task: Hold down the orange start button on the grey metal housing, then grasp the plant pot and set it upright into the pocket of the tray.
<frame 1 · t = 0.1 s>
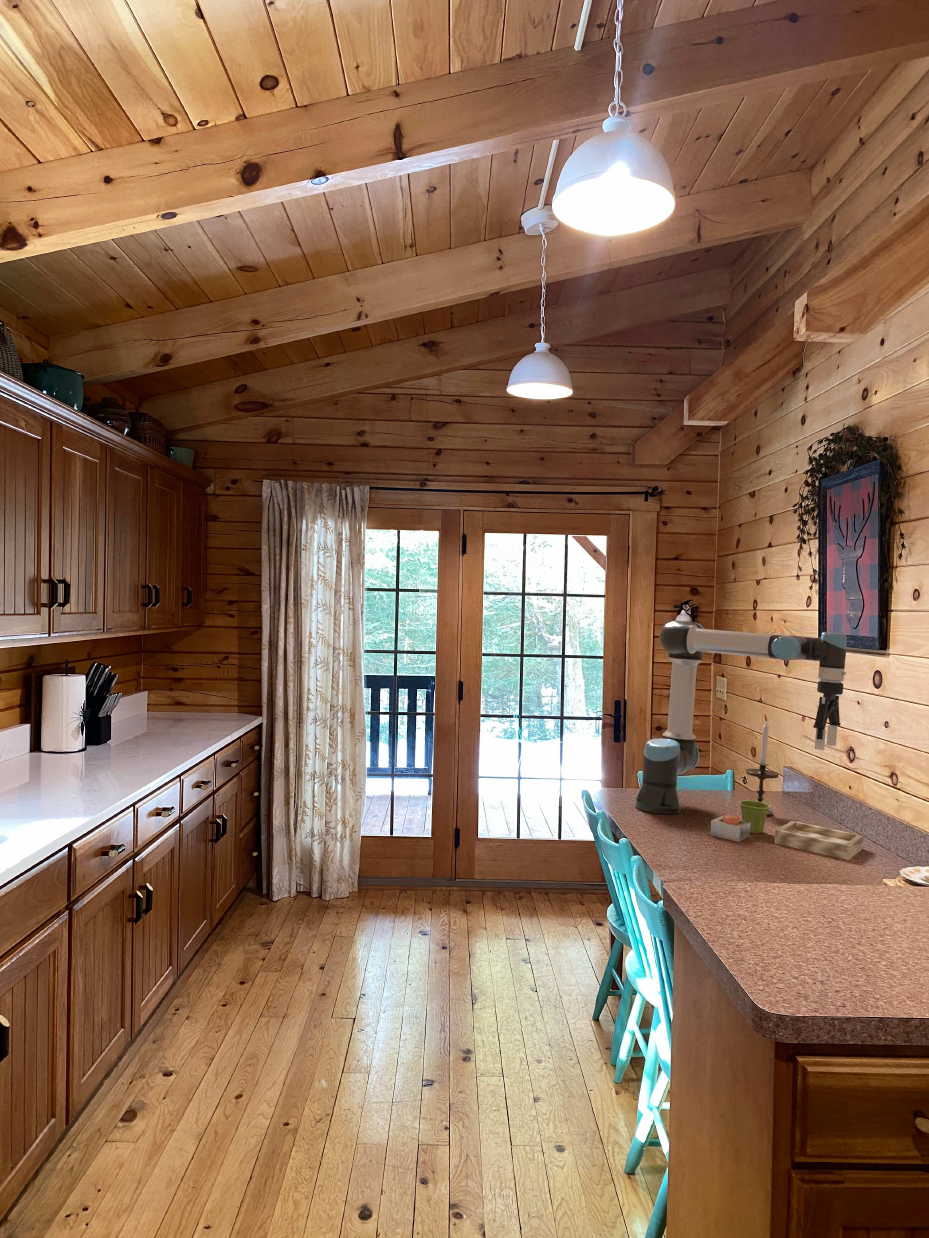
hand: (825, 747, 267), 28 cm above the countertop, fingers open, 13 cm apart
tray: (818, 845, 254), on the countertop
candlestick: (758, 813, 292), on the countertop
button housing: (729, 835, 259), on the countertop
plant pot: (752, 831, 267), on the countertop
start button: (730, 821, 259), point 4 cm above the countertop, slide at 0.0 cm
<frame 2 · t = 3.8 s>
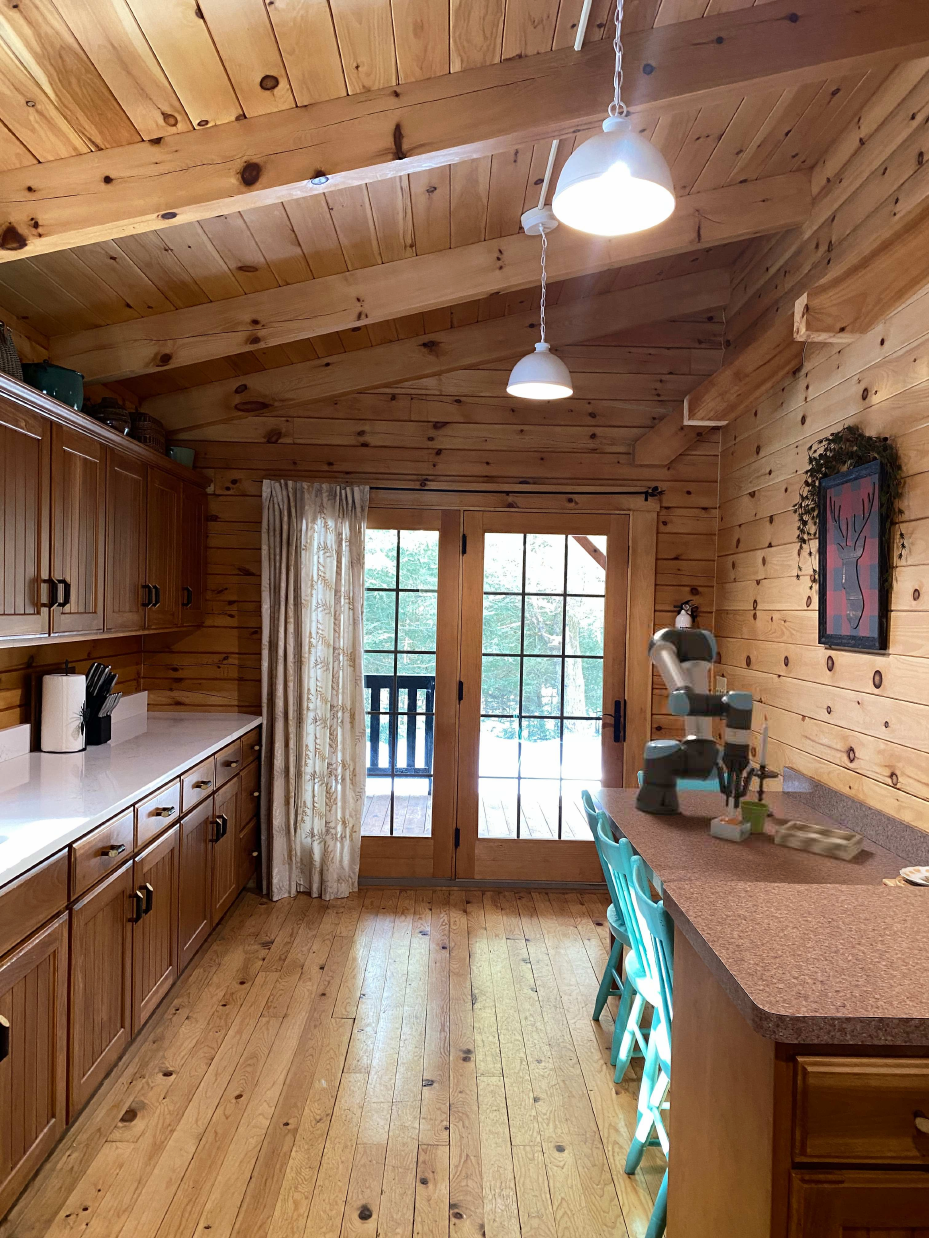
hand: (731, 818, 259), 6 cm above the countertop, fingers closed
start button: (730, 823, 259), point 4 cm above the countertop, slide at 0.5 cm, touching gripper
everything else where it was.
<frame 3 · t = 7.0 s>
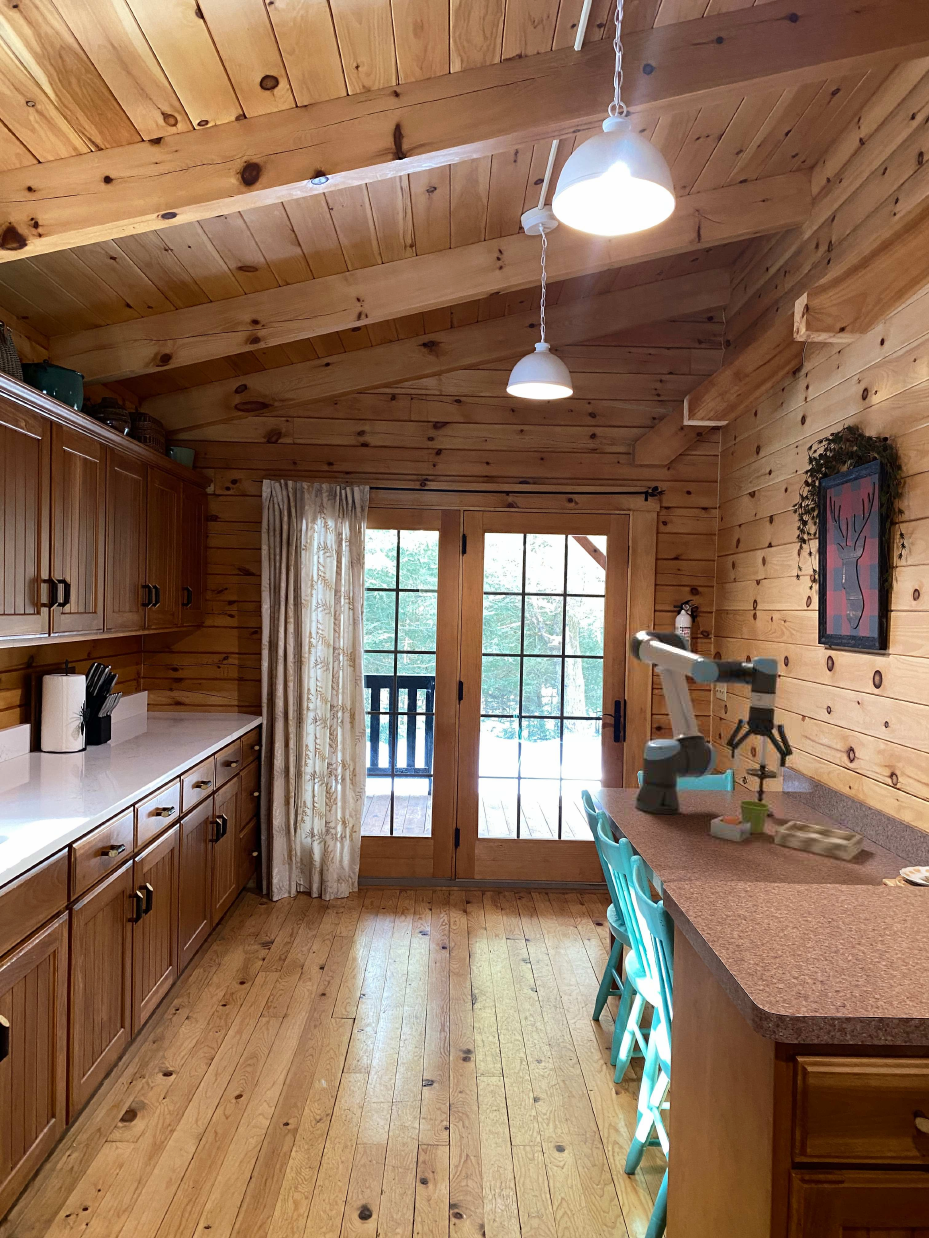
hand: (757, 773, 266), 19 cm above the countertop, fingers open, 13 cm apart
start button: (730, 822, 259), point 4 cm above the countertop, slide at 0.2 cm
everything else where it was.
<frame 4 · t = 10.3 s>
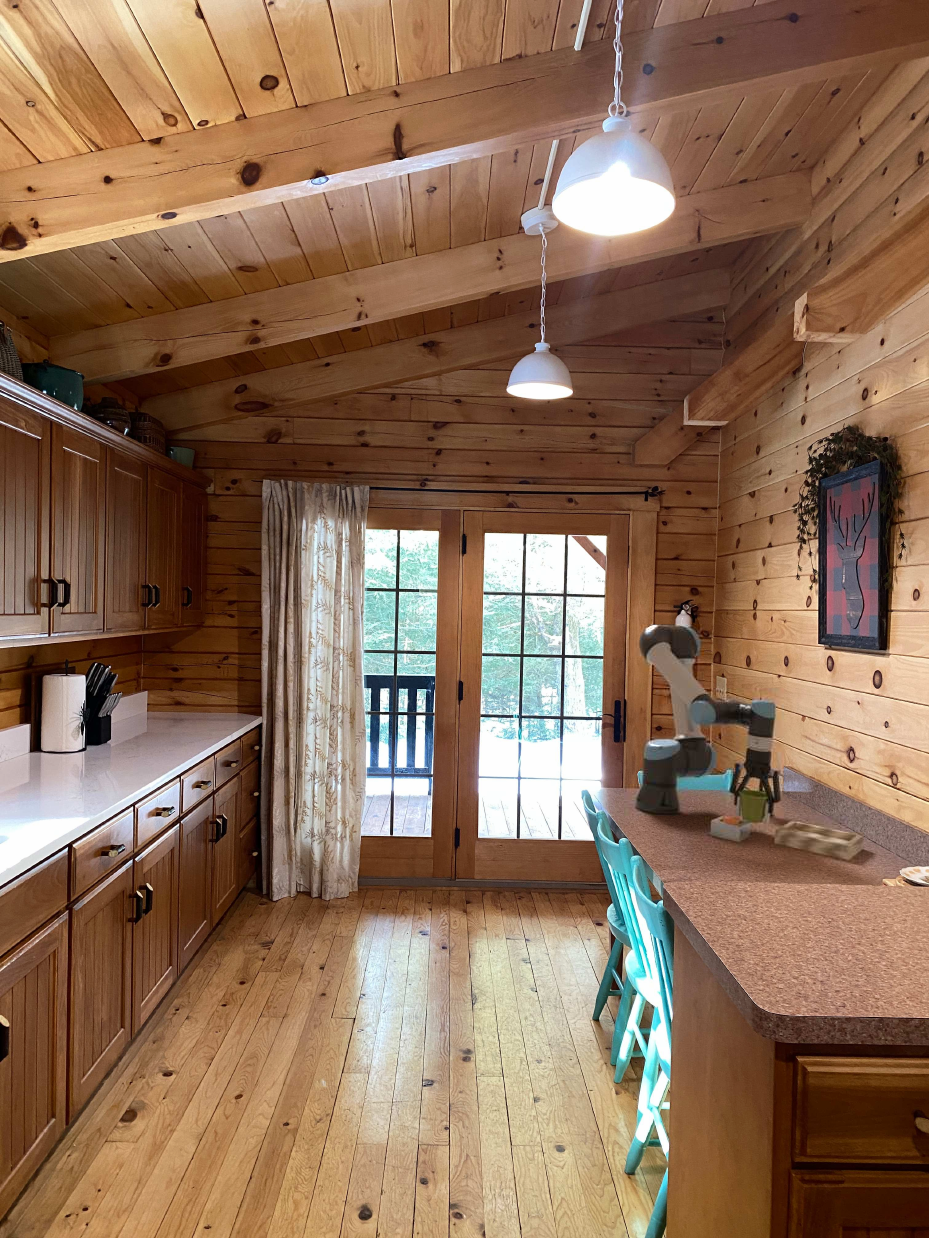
hand: (752, 819, 267), 4 cm above the countertop, fingers closed on plant pot, 8 cm apart
plant pot: (752, 821, 267), point 3 cm above the countertop, touching gripper
everything else where it was.
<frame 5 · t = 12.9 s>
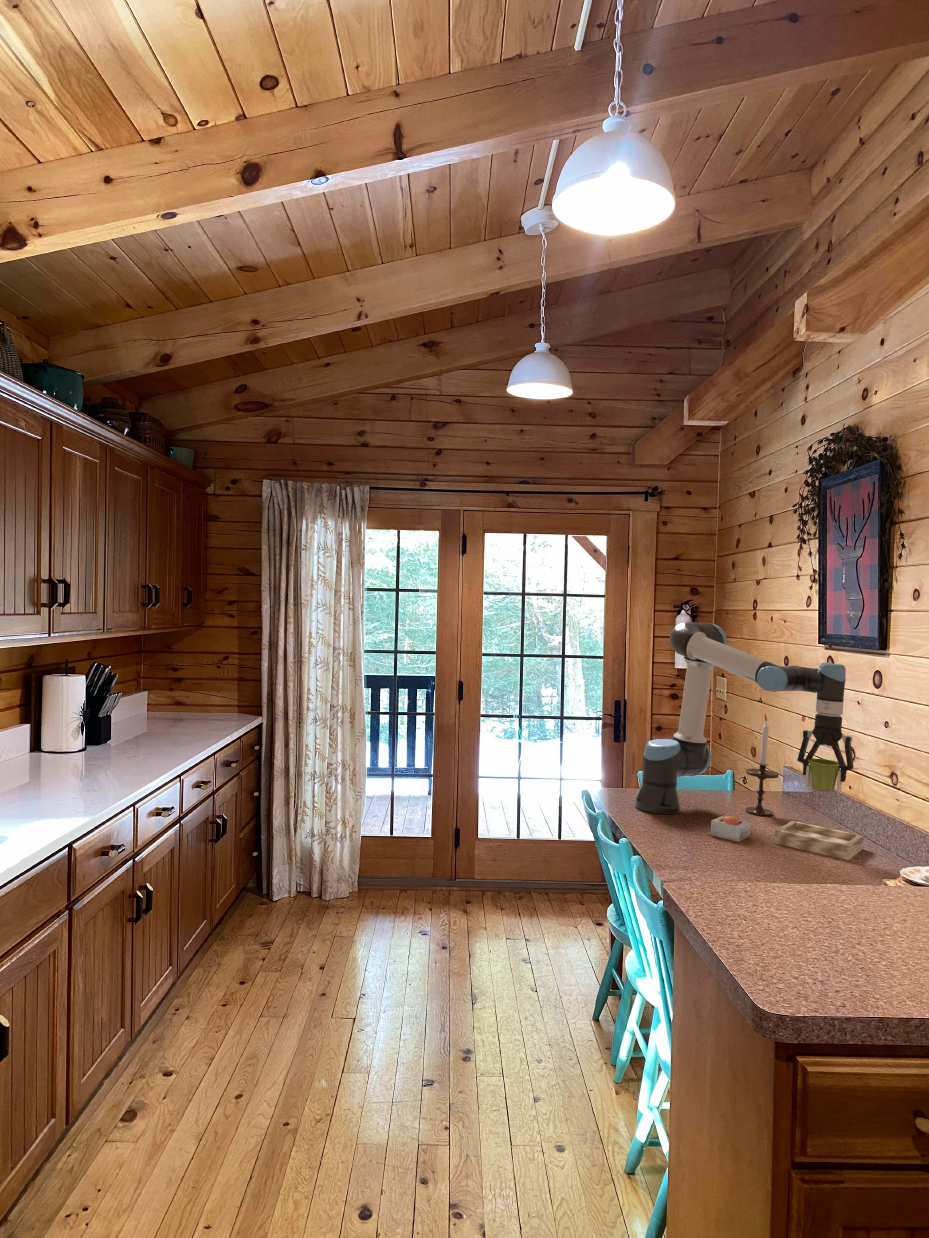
hand: (822, 789, 254), 17 cm above the countertop, fingers closed on plant pot, 8 cm apart
plant pot: (822, 790, 254), point 17 cm above the countertop, touching gripper
everything else where it was.
when the fingers open (3 cm above the countertop, at t = 16.0 s): plant pot stays where it is, resting on tray.
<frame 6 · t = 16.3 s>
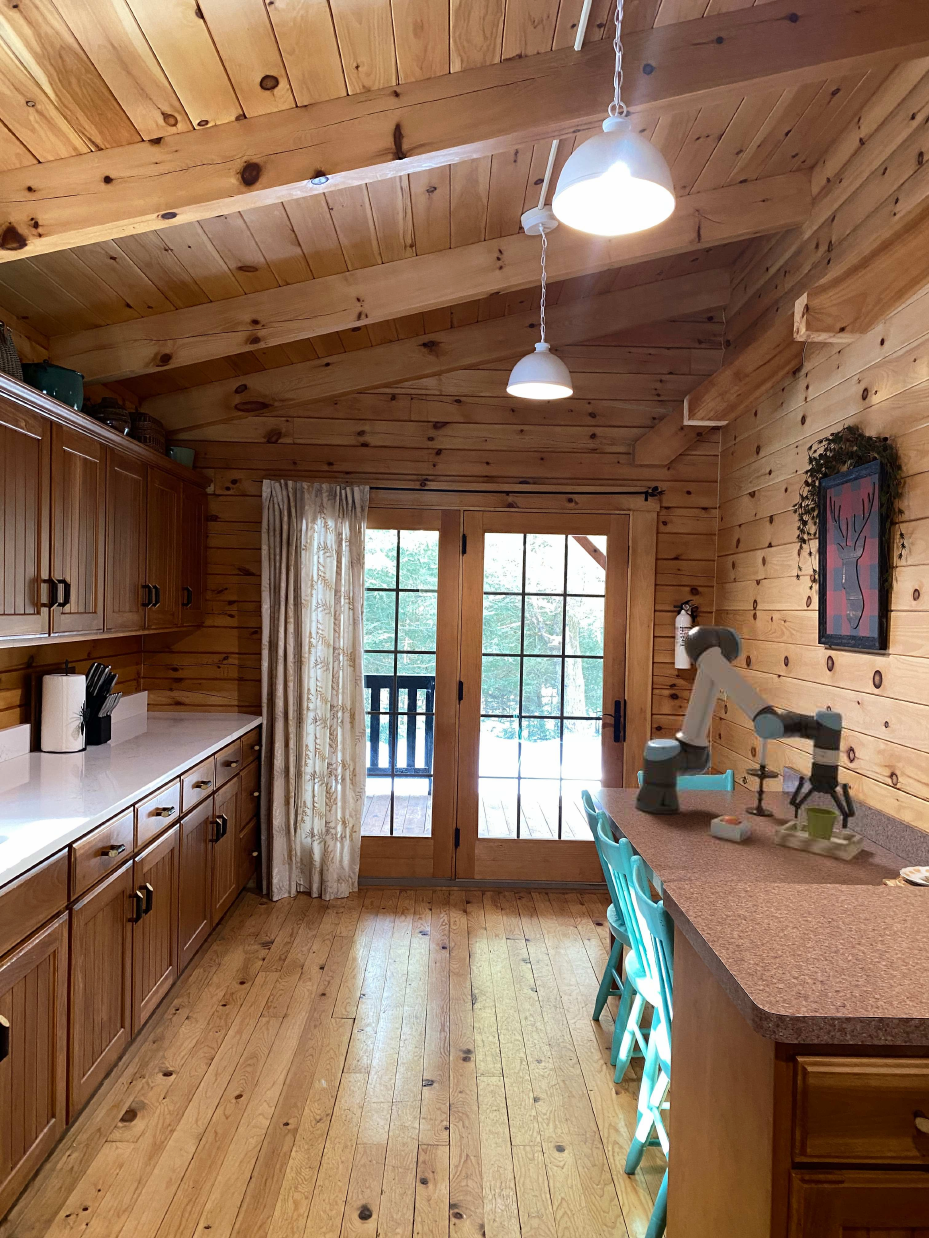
hand: (819, 834, 254), 4 cm above the countertop, fingers open, 11 cm apart
plant pot: (819, 840, 254), point 2 cm above the countertop, touching tray
everything else where it was.
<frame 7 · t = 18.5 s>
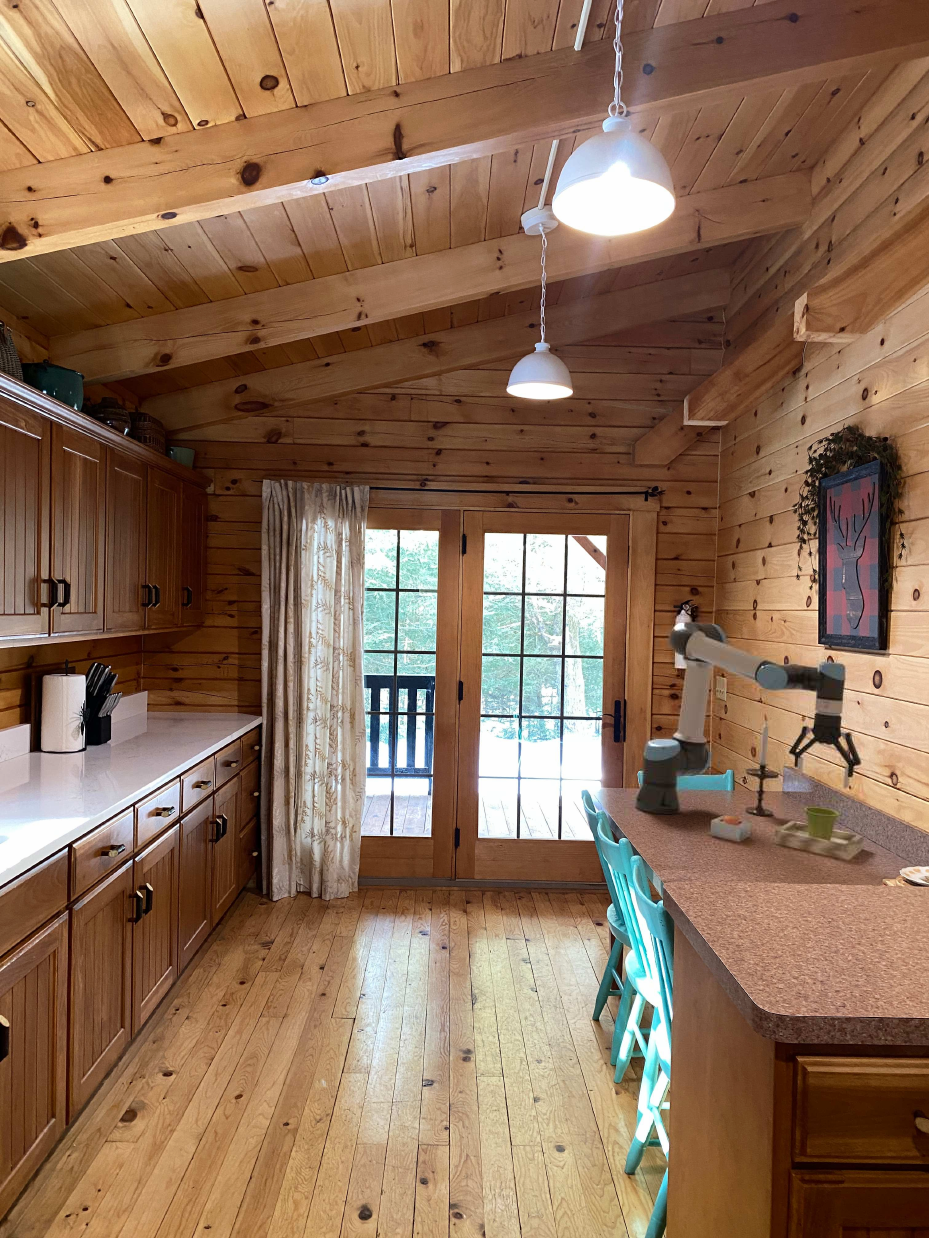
hand: (822, 783, 255), 19 cm above the countertop, fingers open, 13 cm apart
nothing on the countertop moved.
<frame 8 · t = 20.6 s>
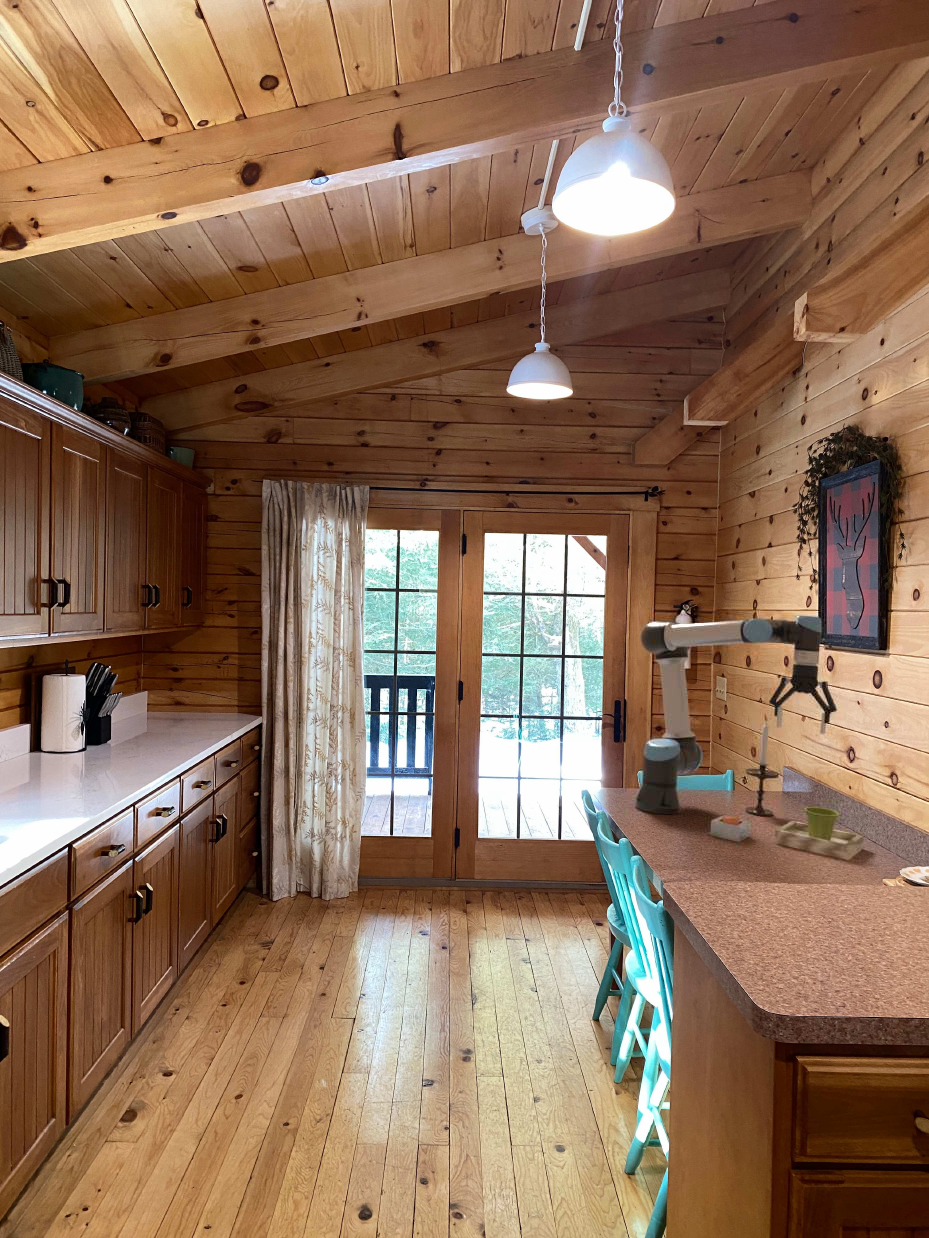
hand: (800, 730, 269), 33 cm above the countertop, fingers open, 13 cm apart
nothing on the countertop moved.
at the end: plant pot 0.0 cm off-centre on the tray, point 1.8 cm above the tray's base; plant pot tilted 0°; the gripper is holding nothing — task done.
